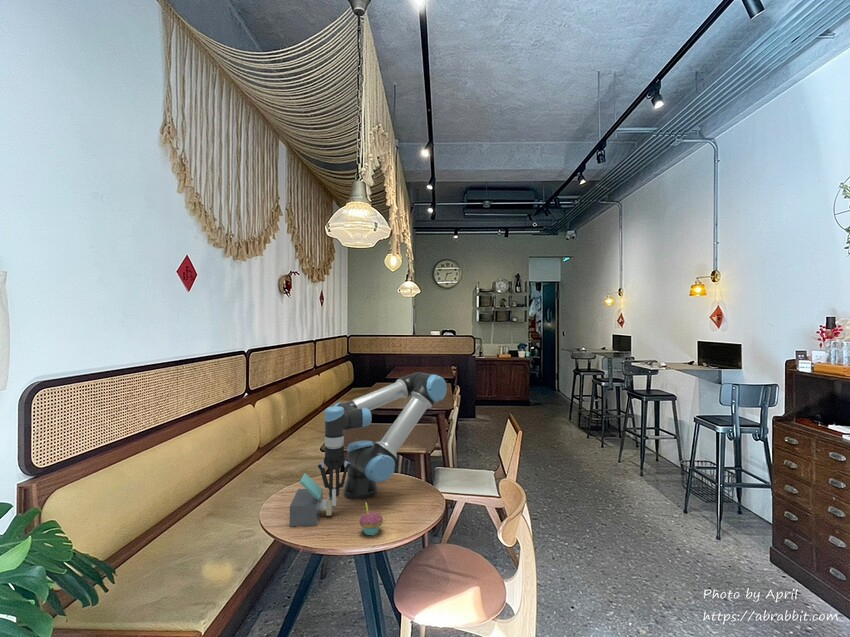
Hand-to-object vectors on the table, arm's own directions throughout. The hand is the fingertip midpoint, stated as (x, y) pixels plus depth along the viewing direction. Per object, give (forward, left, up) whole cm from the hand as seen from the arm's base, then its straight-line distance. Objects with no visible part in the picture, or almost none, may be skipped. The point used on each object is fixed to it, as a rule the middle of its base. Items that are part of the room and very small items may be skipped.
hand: (334, 504), depth 172 cm
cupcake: (-15, +15, -5) cm, 22 cm away
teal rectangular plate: (+9, 0, +7) cm, 12 cm away
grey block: (+11, 0, -5) cm, 12 cm away
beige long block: (+8, 0, -3) cm, 9 cm away
